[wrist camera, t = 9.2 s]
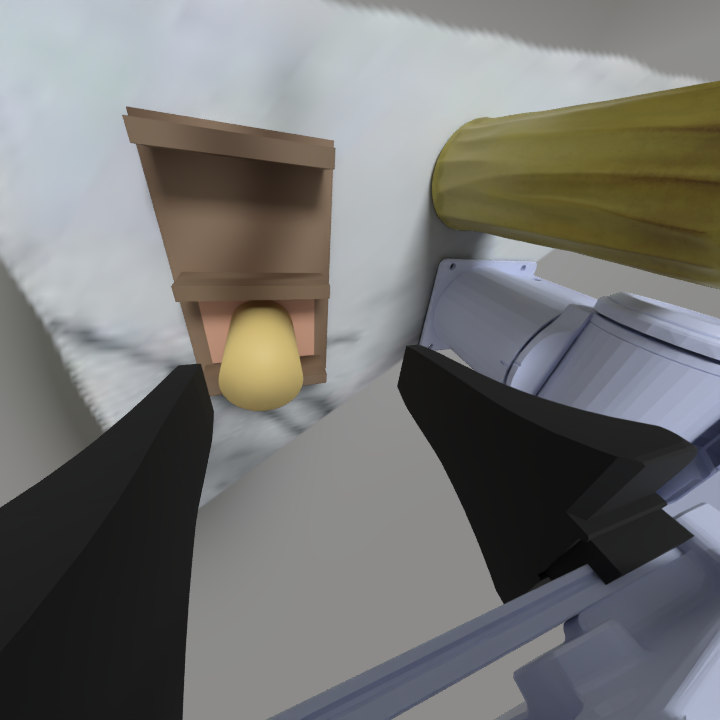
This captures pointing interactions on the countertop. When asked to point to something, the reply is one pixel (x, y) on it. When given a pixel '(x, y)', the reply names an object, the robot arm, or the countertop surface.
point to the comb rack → (240, 226)
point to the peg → (260, 357)
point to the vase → (596, 180)
